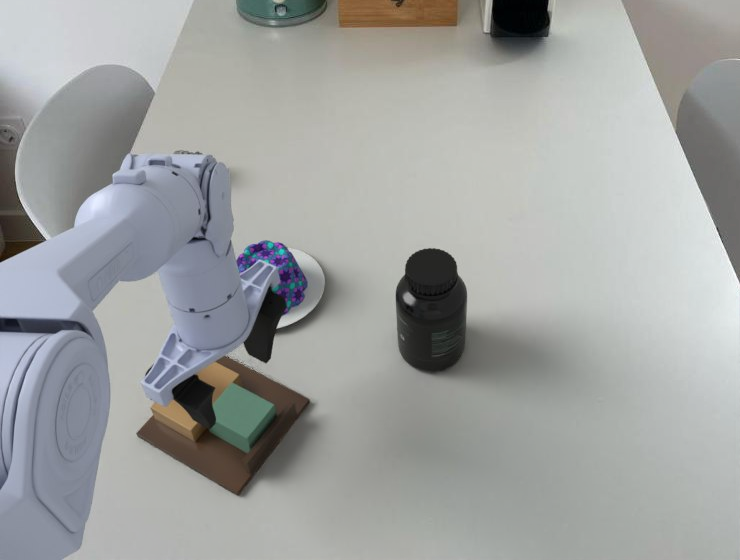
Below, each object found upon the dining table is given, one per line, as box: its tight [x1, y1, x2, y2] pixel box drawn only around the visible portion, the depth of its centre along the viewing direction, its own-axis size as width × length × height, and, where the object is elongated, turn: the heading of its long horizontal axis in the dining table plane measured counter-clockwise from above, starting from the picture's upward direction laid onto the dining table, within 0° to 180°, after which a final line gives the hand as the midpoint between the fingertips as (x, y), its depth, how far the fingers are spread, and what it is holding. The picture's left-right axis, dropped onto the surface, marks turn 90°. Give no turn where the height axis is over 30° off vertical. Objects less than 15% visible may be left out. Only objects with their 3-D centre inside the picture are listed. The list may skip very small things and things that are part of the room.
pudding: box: [236, 239, 326, 329], centre depth 87 cm, size 12×12×5 cm
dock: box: [135, 355, 311, 497], centre depth 76 cm, size 11×12×3 cm
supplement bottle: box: [395, 247, 468, 373], centre depth 78 cm, size 7×7×12 cm
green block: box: [209, 383, 277, 453], centre depth 74 cm, size 4×5×3 cm
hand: (232, 387), depth 71 cm, fingers open, 7 cm apart
